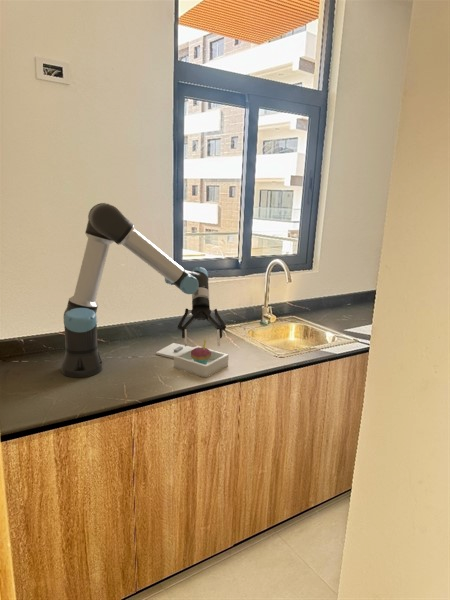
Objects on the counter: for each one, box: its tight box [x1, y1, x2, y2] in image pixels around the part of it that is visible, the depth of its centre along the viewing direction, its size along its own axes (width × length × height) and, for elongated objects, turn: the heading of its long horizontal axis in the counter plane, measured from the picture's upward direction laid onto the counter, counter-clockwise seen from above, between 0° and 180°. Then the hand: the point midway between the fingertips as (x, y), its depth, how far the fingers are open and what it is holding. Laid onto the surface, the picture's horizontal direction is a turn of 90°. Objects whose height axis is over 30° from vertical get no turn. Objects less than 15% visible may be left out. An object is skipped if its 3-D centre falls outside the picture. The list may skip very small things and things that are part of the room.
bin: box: [173, 345, 229, 379], centre depth 169 cm, size 16×16×5 cm
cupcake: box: [191, 338, 212, 365], centre depth 168 cm, size 9×8×12 cm
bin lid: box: [155, 342, 195, 359], centre depth 183 cm, size 14×14×2 cm
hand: (202, 345), depth 169 cm, fingers open, 13 cm apart
